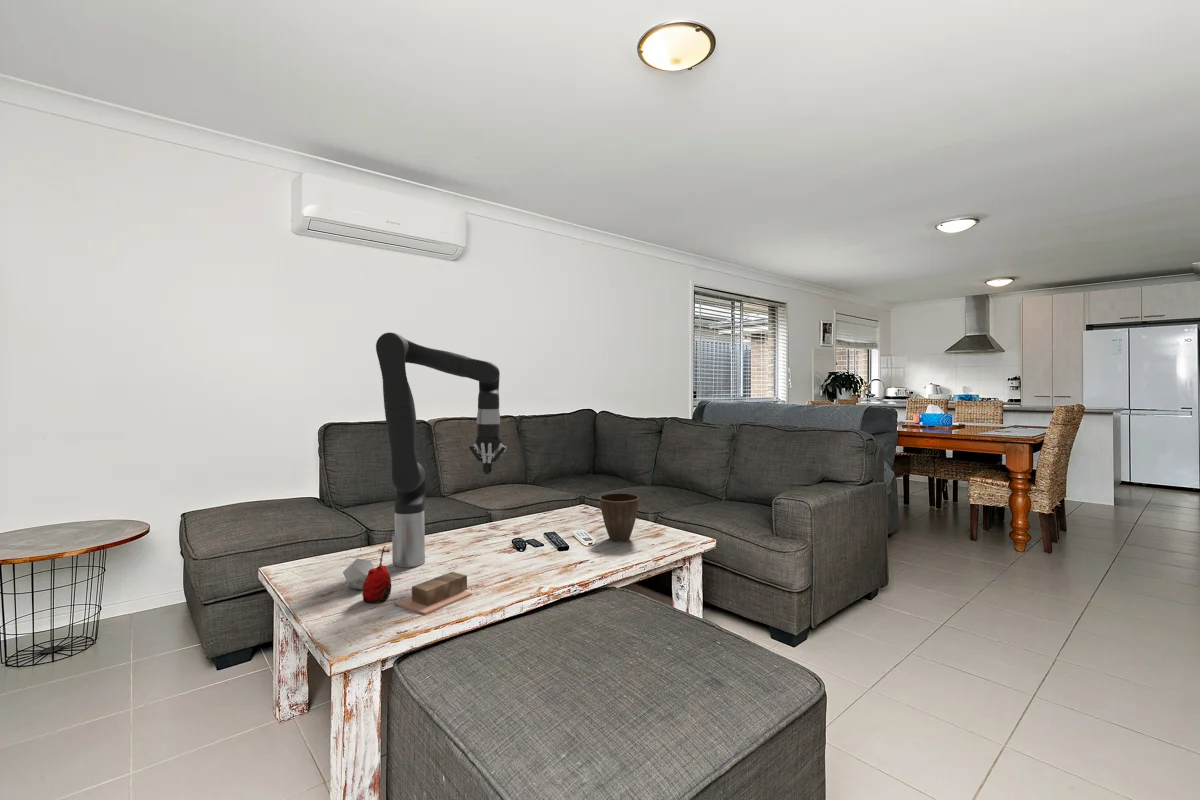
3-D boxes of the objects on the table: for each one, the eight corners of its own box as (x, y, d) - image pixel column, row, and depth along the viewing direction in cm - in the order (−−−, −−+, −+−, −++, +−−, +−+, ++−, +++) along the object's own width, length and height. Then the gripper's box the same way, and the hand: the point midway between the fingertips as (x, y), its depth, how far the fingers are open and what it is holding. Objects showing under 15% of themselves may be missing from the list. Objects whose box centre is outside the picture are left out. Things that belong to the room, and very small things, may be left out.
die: (347, 597, 153) (369, 568, 154) (331, 577, 157) (352, 549, 158) (367, 598, 160) (388, 570, 161) (351, 578, 164) (372, 552, 165)
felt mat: (442, 586, 160) (442, 584, 160) (471, 594, 153) (471, 592, 153) (395, 604, 146) (395, 602, 146) (425, 614, 140) (425, 612, 140)
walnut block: (452, 571, 159) (411, 586, 147) (466, 575, 156) (426, 591, 144) (452, 585, 159) (412, 601, 147) (467, 589, 156) (427, 606, 144)
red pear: (380, 592, 155) (379, 539, 154) (397, 597, 152) (397, 543, 151) (356, 602, 148) (356, 546, 148) (375, 607, 145) (374, 550, 144)
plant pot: (626, 547, 197) (626, 502, 197) (591, 541, 206) (591, 498, 205) (646, 537, 210) (646, 495, 210) (612, 532, 218) (612, 491, 218)
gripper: (465, 422, 181) (464, 475, 181) (504, 423, 179) (503, 476, 180) (473, 421, 188) (473, 471, 189) (510, 422, 187) (510, 473, 187)
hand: (488, 474), depth 184 cm, fingers closed
